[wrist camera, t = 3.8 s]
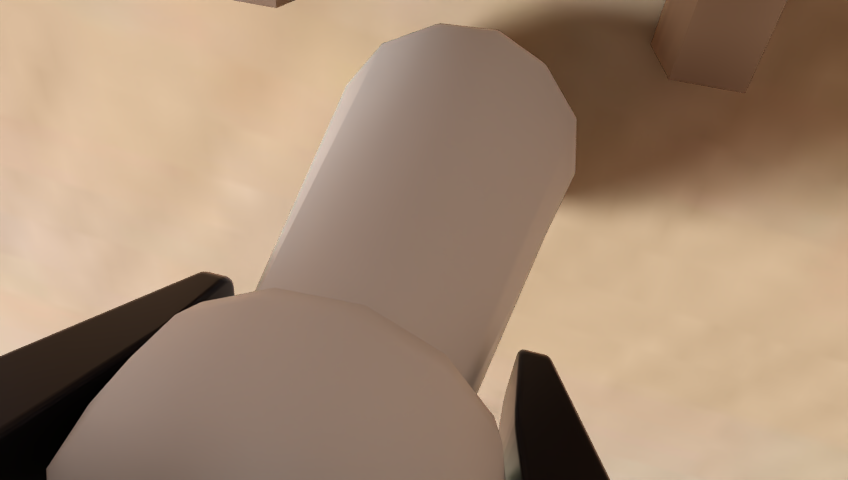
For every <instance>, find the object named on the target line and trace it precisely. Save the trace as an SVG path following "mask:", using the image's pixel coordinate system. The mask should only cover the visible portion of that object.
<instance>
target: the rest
mask: <svg viewBox="0 0 848 480" xmlns="http://www.w3.org/2000/svg"><path fill="white" fill-rule="evenodd" d="M235 1H241V2H246V3H252V4H257V5H263V6H268V7H274V8H277V7H280V6H282V5H285V4H287V3H289V2H292V1H294V0H235ZM786 2H787V0H666V1H665V4H664V7H663V10H662V13H661V16H660V19H659V22H658V25H657V27H656V30H655V33H654V36H653V39H652V42H651V46H652V48H653V50H654V52H655V54H656V56H657V58H658V60H659V62H660V64H661V65H662V67H663V69H664V71H665V73H666V75H667V77H668V79H670V80H675V81H681V82H686V83H692V84H697V85H703V86H708V87H714V88H719V89H725V90H730V91H736V92H741V93H745V92H746V90H747V88H748V86H749V83H750V81H751V79H752V77H753V75H754V73H755V70H756V68H757V66H758V64H759V62H760V59H761V57H762V55H763V53H764V51H765V48H766V46H767V44H768V42H769V40H770V37H771V35H772V33H773V31H774V29H775V26H776V24H777V22H778V20H779V18H780V15H781V13H782V11H783V9H784V7H785V4H786Z"/></svg>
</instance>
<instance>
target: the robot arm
mask: <svg viewBox="0 0 848 480" xmlns="http://www.w3.org/2000/svg"><path fill="white" fill-rule="evenodd" d="M229 296H234V286H233V282H232V280H231V279H230V278H228V277H226V276H223V275H219V274H214V273H210V272H200V273H197V274H195V275H193V276H190V277H188V278H185V279H183V280H181V281H178V282H176V283H174V284H171V285H169V286H166V287H164V288H162V289H159V290H157V291H155V292H152V293H150V294H147V295H145V296H143V297H140V298H138V299H135V300H133V301H131V302H128V303H126V304H124V305H121V306H119V307H116V308H114V309H112V310H109V311H107V312H105V313H102V314H100V315H97V316H95V317H93V318H90V319H88V320H85V321H83V322H81V323H78V324H76V325H74V326H71V327H69V328H66V329H64V330H62V331H59V332H57V333H55V334H52V335H50V336H47V337H45V338H43V339H40V340H38V341H36V342H33V343H31V344H28V345H26V346H24V347H21V348H19V349H16V350H14V351H12V352H9V353H7V354H5V355H2V356H0V480H47V473H46V468H47V467H48V465H49V464H50V462H51V461H52V459H53V458H54V456H55V455H56V453H57V452H58V450H59V449H60V447H61V446H62V444H63V443H64V441H65V440H66V438H67V437H68V435H69V434H70V432H71V431H72V429H73V428H74V426H75V424H76V423H77V421H78V420H79V418H80V417H81V415H82V414H83V412H84V411H85V409H86V408H87V406H88V405H89V403H90V402H91V401H92V400H93V399H94V398H95V397H96V396H97V394H98V393H99V392H100V391H101V390H102V389H103V388H104V386H105V385H106V384H107V383H108V382H109V381H110V380H111V379H112V377H113V376H114V375H115V374H116V373H117V372H118V371H119V369H120V368H121V367H122V366H123V365H124V364H125V363H126V362H127V360H128V359H129V358H130V357H131V356H132V355H133V354H134V353H135V352H137V351H138V350H139V349H140V348H141V347H142V346H143V345H144V344H145V343H146V342H147V341H148V340H149V339H150V338H151V337H152V336H153V335H154V334H155V333H156V332H157V331H159V330H160V329H161V328H162V327H163V326H164V325H165V324H166V323H167V322H168V321H169V320H170V319H171V318H172V317H173V316H174V315H175V314H177V313H180V312H182V311H184V310H186V309H188V308H190V307H192V306H194V305H196V304H198V303H200V302H204V301H209V300H214V299H219V298H224V297H229ZM499 434H500V437H501V440H502V445H503V457H504V469H505V480H610V479H609V477H608V475H607V472H606V470H605V468H604V466H603V464H602V462H601V460H600V458H599V456H598V454H597V452H596V450H595V448H594V446H593V444H592V442H591V440H590V438H589V436H588V434H587V432H586V430H585V428H584V426H583V424H582V421H581V419H580V417H579V415H578V413H577V411H576V409H575V407H574V405H573V403H572V401H571V399H570V397H569V395H568V393H567V391H566V389H565V387H564V385H563V383H562V381H561V379H560V377H559V375H558V373H557V371H556V368H555V366H554V364H553V362H552V360H551V359H550V358H549V357H548V356H547V355H544V354H540V353H536V352H532V351H528V350H520V351H519V352H518V354H517V356H516V359H515V363H514V366H513V369H512V373H511V376H510V379H509V383H508V386H507V389H506V393H505V397H504V402H503V407H502V413H501V419H500V425H499Z"/></svg>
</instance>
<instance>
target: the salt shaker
mask: <svg viewBox="0 0 848 480" xmlns="http://www.w3.org/2000/svg"><path fill="white" fill-rule="evenodd" d="M576 123H577V118H576V117H575V115H574V113H573V111H572V109H571V108H570V106H569V104H568V102H567V101H566V99H565V97H564V95H563V94H562V92H561V90H560V88H559V87H558V85H557V83H556V81H555V79H554V78H553V76H552V74H551V72H550V71H549V69H548V67H547V66H546V64H545V63H544V62H542V61H541V60H539V59H538V58H537V57H535V56H534V55H532V54H531V53H530V52H528V51H527V50H525V49H524V48H523V47H521V46H520V45H518V44H517V43H516V42H514V41H513V40H511V39H510V38H509V37H507V36H506V35H504V34H503V33H501V32H500V31H499V30H493V29H484V28H475V27H467V26H458V25H450V24H441V23H440V24H435V25H433V26H430V27H427V28H424V29H422V30H419V31H416V32H413V33H410V34H408V35H405V36H402V37H399V38H397V39H394V40H391V41H388V42H385V43H383V44H381V45H380V47H379V48H378V49H377V50H376V51H375V52H374V54H373V55H372V56H371V57H370V58H369V59H368V60H367V62H366V63H365V64H364V65H363V66H362V67H361V69H360V70H359V71H358V72H357V73H356V74H355V76H354V77H353V78H352V79H351V80H350V81H349V82H348V84H347V85H346V87H345V89H344V92H343V94H342V96H341V98H340V101H339V103H338V105H337V107H336V110H335V112H334V114H333V116H332V119H331V121H330V123H329V125H328V128H327V130H326V132H325V135H324V137H323V139H322V141H321V144H320V146H319V148H318V150H317V153H316V155H315V157H314V159H313V162H312V164H311V166H310V168H309V171H308V173H307V175H306V177H305V180H304V182H303V184H302V186H301V189H300V191H299V193H298V195H297V198H296V200H295V202H294V204H293V207H292V209H291V211H290V213H289V216H288V218H287V220H286V222H285V225H284V227H283V229H282V231H281V234H280V236H279V238H278V240H277V243H276V245H275V247H274V249H273V252H272V254H271V256H270V258H269V261H268V263H267V265H266V267H265V270H264V272H263V274H262V277H261V279H260V281H259V283H258V286H257V288H256V290H255V291H254V292H249V293H244V294H239V295H234V296H229V297H224V298H219V299H214V300H209V301H204V302H200V303H198V304H196V305H194V306H192V307H190V308H188V309H186V310H184V311H182V312H180V313H177V314H175V315H174V316H173V317H172V318H171V319H170V320H169V321H168V322H167V323H166V324H165V325H164V326H163V327H162V328H161V329H160V330H159V331H157V332H156V333H155V334H154V335H153V336H152V337H151V338H150V339H149V340H148V341H147V342H146V343H145V344H144V345H143V346H142V347H141V348H140V349H139V350H138V351H137V352H135V353H134V354H133V355H132V356H131V357H130V358H129V359H128V360H127V362H126V363H125V364H124V365H123V366H122V367H121V368H120V369H119V371H118V372H117V373H116V374H115V375H114V376H113V377H112V379H111V380H110V381H109V382H108V383H107V384H106V385H105V386H104V388H103V389H102V390H101V391H100V392H99V393H98V394H97V396H96V397H95V398H94V399H93V400H92V401H91V402H90V403H89V405H88V406H87V408H86V409H85V411H84V412H83V414H82V415H81V417H80V418H79V420H78V421H77V423H76V424H75V426H74V428H73V429H72V431H71V432H70V434H69V435H68V437H67V438H66V440H65V441H64V443H63V444H62V446H61V447H60V449H59V450H58V452H57V453H56V455H55V456H54V458H53V459H52V461H51V462H50V464H49V465H48V467H47V468H46V473H47V480H505V469H504V457H503V445H502V440H501V437H500V434H499V431H498V428H497V424H496V421H495V418H494V416H493V415H492V413H491V412H490V411H489V410H488V408H487V407H486V406H485V404H484V403H483V402H482V401H481V399H480V398H479V397H478V395H477V393H478V390H479V388H480V386H481V383H482V381H483V379H484V376H485V374H486V372H487V369H488V367H489V365H490V362H491V360H492V358H493V356H494V353H495V351H496V349H497V346H498V344H499V342H500V339H501V337H502V335H503V332H504V330H505V328H506V325H507V323H508V321H509V319H510V316H511V314H512V312H513V309H514V307H515V305H516V302H517V300H518V298H519V295H520V293H521V291H522V288H523V286H524V284H525V281H526V279H527V277H528V275H529V272H530V270H531V268H532V265H533V263H534V261H535V258H536V256H537V254H538V251H539V249H540V247H541V244H542V242H543V240H544V238H545V235H546V233H547V231H548V229H549V227H550V225H551V223H552V221H553V219H554V216H555V214H556V212H557V210H558V208H559V206H560V204H561V202H562V200H563V198H564V196H565V193H566V191H567V189H568V187H569V185H570V183H571V181H572V179H573V177H574V175H575V169H576Z"/></svg>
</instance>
